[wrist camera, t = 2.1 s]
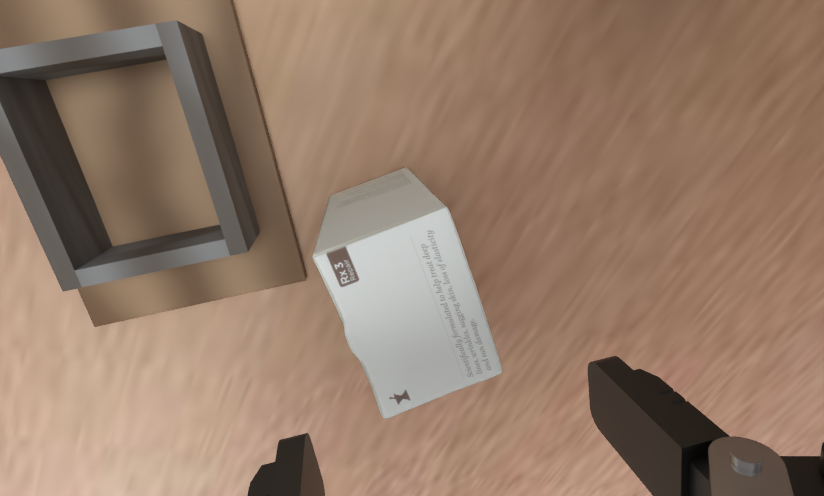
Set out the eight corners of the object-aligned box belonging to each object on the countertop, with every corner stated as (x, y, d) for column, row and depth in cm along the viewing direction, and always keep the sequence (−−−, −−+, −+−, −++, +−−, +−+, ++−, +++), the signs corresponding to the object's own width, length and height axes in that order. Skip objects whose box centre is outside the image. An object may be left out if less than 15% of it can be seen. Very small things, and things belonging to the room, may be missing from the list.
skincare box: (441, 267, 34) (515, 379, 20) (365, 296, 34) (385, 432, 20) (403, 159, 31) (458, 202, 17) (320, 190, 31) (307, 261, 17)
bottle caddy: (220, -46, 26) (191, -83, 21) (306, 275, 33) (301, 307, 27) (-41, -6, 25) (-141, -35, 20) (101, 320, 31) (55, 363, 26)
